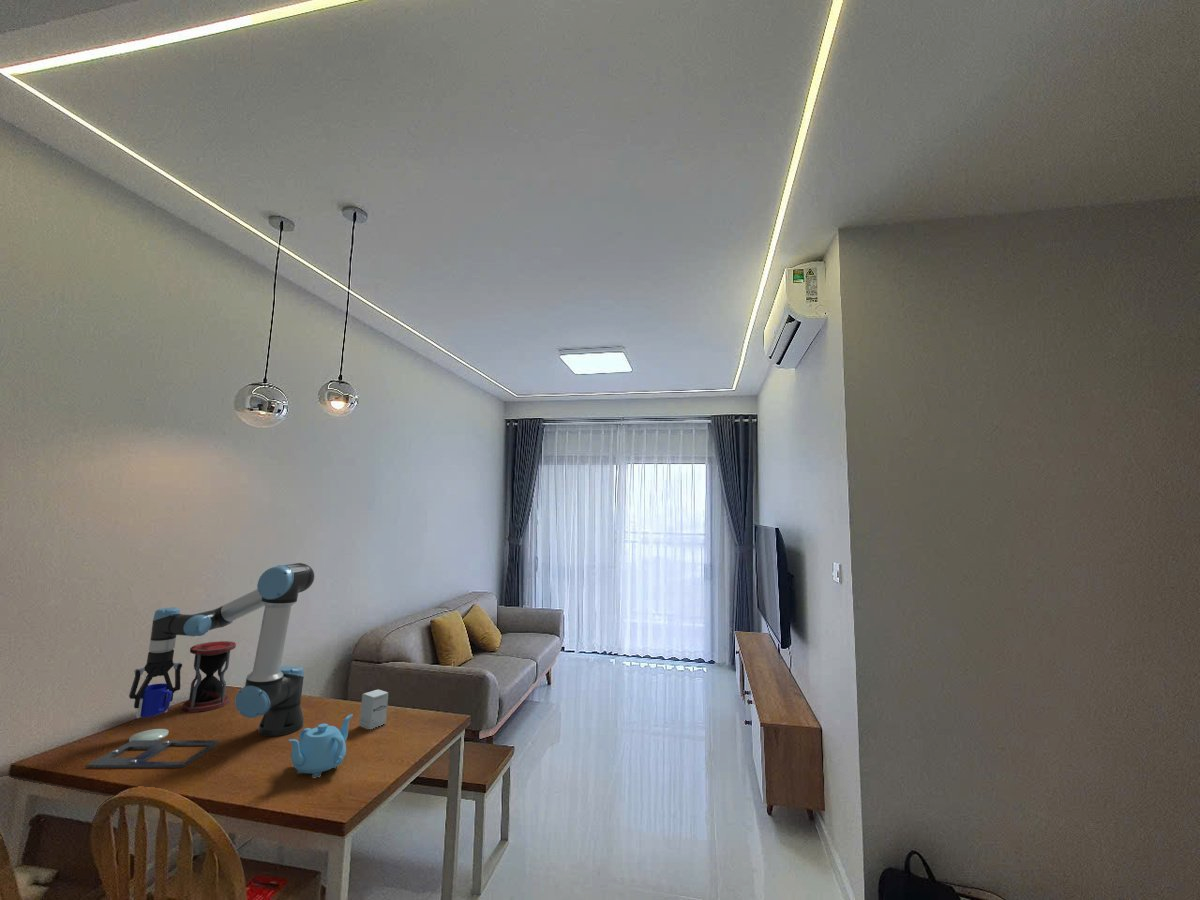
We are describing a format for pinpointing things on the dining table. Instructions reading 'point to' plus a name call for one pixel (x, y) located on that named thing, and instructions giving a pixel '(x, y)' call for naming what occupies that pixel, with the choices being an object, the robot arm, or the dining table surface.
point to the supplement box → (373, 709)
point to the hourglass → (209, 676)
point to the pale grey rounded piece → (150, 735)
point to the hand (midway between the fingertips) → (152, 713)
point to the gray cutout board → (149, 754)
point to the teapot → (320, 748)
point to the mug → (155, 700)
